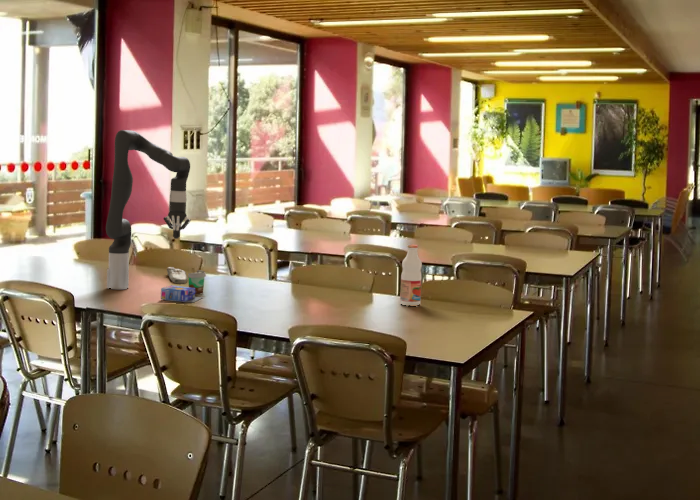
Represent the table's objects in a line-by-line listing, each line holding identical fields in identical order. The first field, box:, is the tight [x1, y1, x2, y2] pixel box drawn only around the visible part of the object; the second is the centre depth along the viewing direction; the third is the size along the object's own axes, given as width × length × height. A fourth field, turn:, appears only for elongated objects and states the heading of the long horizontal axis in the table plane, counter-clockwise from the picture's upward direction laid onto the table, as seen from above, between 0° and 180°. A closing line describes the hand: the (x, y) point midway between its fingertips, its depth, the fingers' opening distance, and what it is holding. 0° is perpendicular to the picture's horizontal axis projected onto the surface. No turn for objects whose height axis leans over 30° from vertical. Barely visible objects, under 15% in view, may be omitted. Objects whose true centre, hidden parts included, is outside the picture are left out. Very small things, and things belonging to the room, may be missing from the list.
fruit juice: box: [399, 243, 423, 305], centre depth 415 cm, size 9×9×28 cm
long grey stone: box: [166, 266, 189, 285], centre depth 468 cm, size 35×5×10 cm
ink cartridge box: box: [160, 285, 197, 303], centre depth 407 cm, size 10×6×14 cm
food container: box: [187, 269, 207, 295], centre depth 427 cm, size 12×6×10 cm, turn 168°
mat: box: [165, 296, 204, 303], centre depth 409 cm, size 13×13×1 cm
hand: (176, 238), depth 413 cm, fingers closed
